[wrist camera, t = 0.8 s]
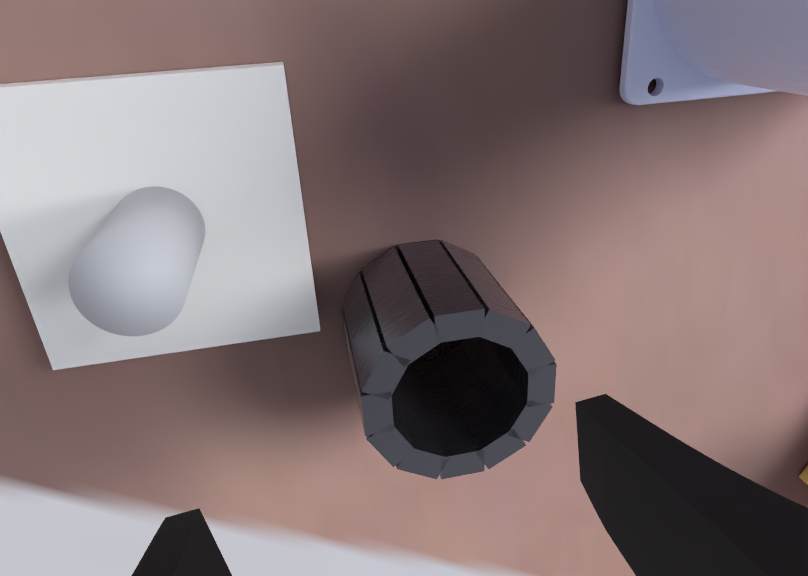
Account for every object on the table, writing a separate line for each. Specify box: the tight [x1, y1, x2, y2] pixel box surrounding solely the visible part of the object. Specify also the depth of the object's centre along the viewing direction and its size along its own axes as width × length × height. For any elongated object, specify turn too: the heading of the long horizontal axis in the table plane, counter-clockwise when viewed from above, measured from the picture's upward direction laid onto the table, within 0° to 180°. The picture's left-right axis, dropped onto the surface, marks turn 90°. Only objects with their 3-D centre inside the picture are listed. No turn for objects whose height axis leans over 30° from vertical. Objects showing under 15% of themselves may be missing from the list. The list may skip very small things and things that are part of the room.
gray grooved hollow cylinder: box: [342, 240, 556, 479], centre depth 18 cm, size 5×5×5 cm
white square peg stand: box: [0, 62, 320, 370], centre depth 15 cm, size 8×8×5 cm
